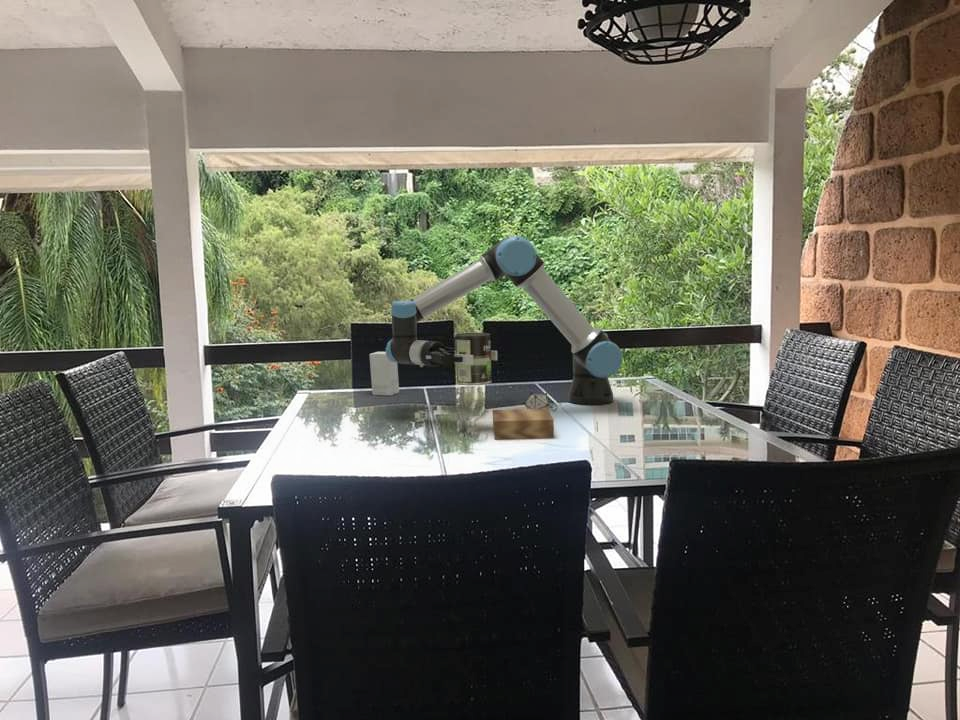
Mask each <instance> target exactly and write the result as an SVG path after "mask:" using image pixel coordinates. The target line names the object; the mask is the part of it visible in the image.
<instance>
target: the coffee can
mask: <svg viewBox="0 0 960 720" xmlns="http://www.w3.org/2000/svg"><path fill="white" fill-rule="evenodd" d="M491 334H492V333H488V332H467V333H466V332H465V333H456V334H455V335H454V339H455V343H454V345H455V348H456V354H465V355H473V360H474V365H465V364H455V365H456V366H455V368H456V370H455V371H456V385H460V386H484V385H489V384H492V360H491V351H492V350H491V346H492V345H491Z"/></svg>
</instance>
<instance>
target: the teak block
mask: <svg viewBox="0 0 960 720" xmlns="http://www.w3.org/2000/svg"><path fill="white" fill-rule="evenodd" d="M554 422H555V421H554V418H553V416H552V414H551V412H550V410H548V408H545V409H527V408H519V409H518V408H516V409H513V408H512V409H493V410H492V427H493V435H494V436H495V437H494V436H493V437H494V440H520V439H521V440H522V439H524V440H527V439H554V436H555V431H554V430H555V429H554V428H555V426H554V425H555V424H554Z"/></svg>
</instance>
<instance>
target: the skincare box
mask: <svg viewBox="0 0 960 720" xmlns="http://www.w3.org/2000/svg"><path fill="white" fill-rule="evenodd" d="M369 364H370V366H369V368H370V378H371V391H372V392H371V393H372V396H394V394H395V395H397V394H400V386H399V385H400V383H399V369H398V363H396V362H392V361H390V360H389V359H388V358H387V356H386V351H375V352H372V353H369Z"/></svg>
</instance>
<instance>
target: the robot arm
mask: <svg viewBox="0 0 960 720" xmlns="http://www.w3.org/2000/svg"><path fill="white" fill-rule="evenodd" d="M545 264H546V263H545V261H544V260H543V259H542V258H541V257H540V256H539V254H538V253H537V251H536V248H535V247H534V245H533V243H532V242H531V241H529V240H528V239H527V238H524V237H521V236H518V235H514V236H509V237H506V238H503V239H502V240H500V241H498V242H497V243H496V244H494V246H492V247H491V248H489V249H488V250H486V251H485V252H484V253H482V254H480V255H479V257H478V259H477V260H476V261H475V262H473V263H471V264H469V265H467V266H465V267H464V268H462V269H461V270H458V271H457V272H454V273H453V274H451V275H450V276H448V277H446V278H445V279H443V280H442V281H440V282H438V283H436V284H435V285H433V286H431V287H429V288H427V289H426V290H424V291H423V292H421V293H419V294H417V295H415V296H414V297H412V298H411V299H409V300H396V301H393V302H392V303H391V310H390V312H391V313H390V315H391V328H392V338H391V339H390V340H389V341H388V342H387V344H386V347H385V352H386V356H387V358H388V359H389V360H390V361H392V362H396V363H397V364H401V365H402V364H403V365H405V364H406V365H418V366H419V367H420V368H423V367H424V366H427V367H439V366H440V365H442V364H443V365H447V364H448V365H449V367H453V366H454V364H455V365H456V364H465V365H474V360H473V355H465V354H456V347H455V348H453V347H452V348H451V347H444V344H442V342H440V341H433V340H420V339H419V340H418V337H417V336H418V333H417V323H419V322H421V321H422V320H424V319H425V318H427V317H428V316H430V315H433V314H434V313H436V312H437V311H439V310H441V309H443V308H444V307H446V306H448V305H449V304H451V303H453V302H454V301H457V300H458V299H460V298H462V297H463V296H465V295H467V294H469V293H471V292H472V291H475V290H476V289H478V288H479V287H480V286H482V285H485V284H486V283H488V282H490V281H493V282H496V281H498V280H500V279H501V278H503V277H506V278H508V279H509V281H510V282H511V284H513V285H514V287H516V288H521V289H523V290H525V292H526V293H527V294H528V296H529V297H530V298H531V299H532V300H533V301H534V302H535V304H536V305H537V306H538V308H539V309H541V310H542V312H543V313H544V314H545V315H546V316H547V318H548V319H549V321H551V323H553V325H554V326H555V327H556V328H557V329H558V331H559V332H560V333H561V334H562V335H563V337H565V339H566V340H567V341H568V342H569V343H570V344H571V350H570V351H571V353H572V372H573V373H572V374H573V375H572V376H573V377H572V382H571V385H570V388H569V390H568V395H567V399H568V402H569V403H571V404H576V405H581V406H582V405H584V406H585V405H587V406H592V405H593V406H597V405H607V404H611V403H613V402H614V393H613V389H612V387H611V384H610V380H609V378H610V377H612V376H614V375H615V374H616V373H618V372H619V370H620V368H621V367H622V363H623V353H622V351H621V349H620V347H619V345H617V344H616V343H615V342H613V341H611V339H609V335H608V334H607V333H606V332H604V331H603V330H602V329H601V328H600V327H593V326H592V324H590V322H589V320H587V319H586V317H584V315H583V314H582V313H581V312H580V311H579V309H578V308H577V307H576V306H575V305H574V304H573V302H572V301H571V300H570V298H569V297H568V296H567V295H566V294H565V292H564V291H563V290H562V289H561V288H560V286H558V284H557V283H556V282H555V281H554V280H553V278H552V277H551V276H550V275H549V274H548V272H546V269H545ZM491 361H498V350H491Z"/></svg>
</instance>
